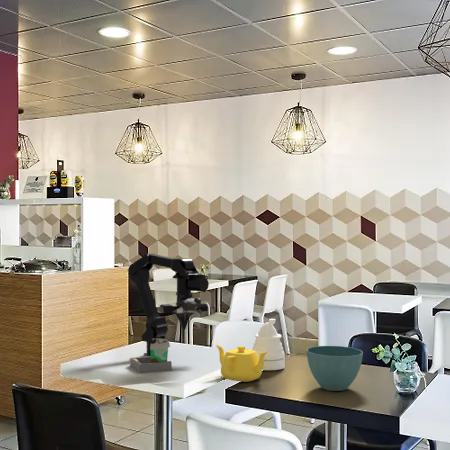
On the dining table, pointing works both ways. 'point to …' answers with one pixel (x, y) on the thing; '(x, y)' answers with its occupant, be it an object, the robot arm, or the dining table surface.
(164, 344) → the food container
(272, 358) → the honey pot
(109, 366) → the dining table surface
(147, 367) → the pocket bay
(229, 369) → the teapot
